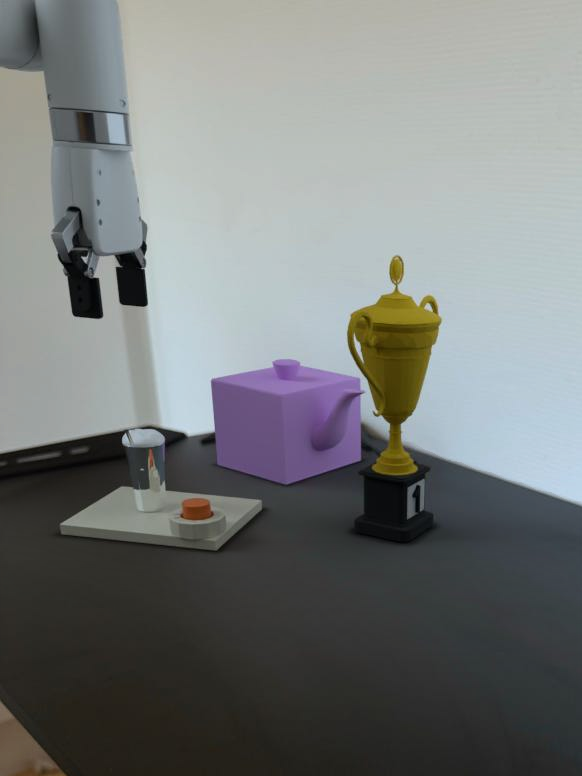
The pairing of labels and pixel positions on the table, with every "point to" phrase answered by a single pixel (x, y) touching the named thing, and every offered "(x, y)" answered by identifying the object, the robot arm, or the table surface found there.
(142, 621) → the table surface
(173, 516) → the scale
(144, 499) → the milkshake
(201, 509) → the button
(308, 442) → the teapot
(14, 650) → the table surface
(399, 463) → the trophy
